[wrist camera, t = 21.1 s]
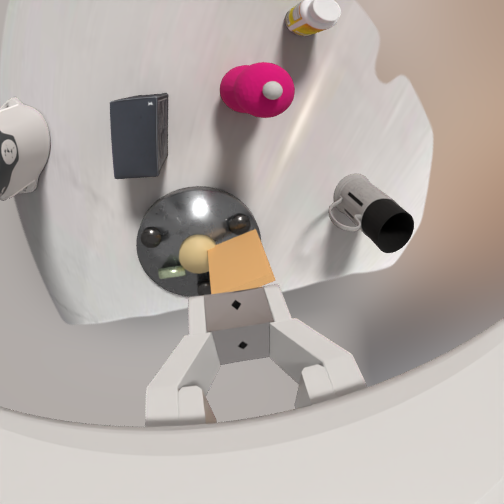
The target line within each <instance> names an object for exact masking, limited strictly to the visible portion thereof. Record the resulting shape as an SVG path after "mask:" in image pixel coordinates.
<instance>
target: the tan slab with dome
mask: <svg viewBox="0 0 504 504" xmlns="http://www.w3.org/2000/svg"><path fill="white" fill-rule="evenodd" d="M179 261H180V263H181V265H182V266H183V268H184V269H186V270H187V271H189V272H192V273H205V272H208V271H209V274H210V285H211V294H217V293H225V292H233V291H239V290H245V289H251V288H257V287H260V286H262V285H265V284H268V283H270V282H273V281H275V277H274V275H273V272H272V269H271V267H270V264H269V262H268V259H267V256H266V254H265V251H264V248H263V246H262V243H261V241H260V238H259V235H258V233H257V231H256V229H254V230H252V231H249V232H247V233H244V234H242V235H239V236H237V237H234V238H232V239H229V240H227V241H225V242H222V243H220V244H216V243H215V241H214V240H213V239H212V238H210V237H208V236H206V235H192V236H190V237H188V238H186V239H185V240H184V241H183V242H182V244H181V246H180V250H179Z"/></svg>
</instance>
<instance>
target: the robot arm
mask: <svg viewBox="0 0 504 504" xmlns="http://www.w3.org/2000/svg"><path fill="white" fill-rule="evenodd" d="M8 106H9V107H8ZM49 150H50V135H49V130H48V126H47V124H46V121H45V119H44V118H43V116H42V115H41V114H40V113H39V112H38V111H37V110H36V109H34V108H32V107H30V106H26V105H24V104H23V103H22V102H21V101H20V100H19V99H18V98H17V97H13V98H10V99H9V100H8V101H7V102H6V103H5V104H4V105H3V106H1V107H0V199H1V200H2V201H4V200H6V199H7V198H12V197H13V196H14V195H16V194H19V193H30V192H33V191H34V190H35V189H36V187H37V183H38V177H39V175H40V173H41V171H42V170H43V168H44V166H45V164H46V162H47V159H48V155H49ZM188 317H189V335H185V336H184V337H183V338H182V340H181V341H180V342H179V344H178V345H177V347H176V348H175V349H174V351H173V352H172V354H171V355H170V356H169V357H168V359H167V360H166V362H165V363H164V364H163V366H162V367H161V369H160V370H159V371H158V373H157V374H156V376H155V377H154V378H153V380H152V381H151V382H150V384H149V385H148V387H147V389H146V417H145V418H146V419H145V421H146V422H145V427H133V426H132V427H131V426H110V425H109V426H108V425H97V424H86V423H78V422H70V421H63V420H57V419H51V418H45V417H40V416H35V415H31V414H27V413H22V412H18V411H14V410H11V409H7V408H3V407H0V504H504V318H502V319H501V320H499V321H498V322H497V323H495V324H493V325H492V326H490V327H489V328H487V329H486V330H484V331H483V332H481V333H480V334H478V335H477V336H475V337H473V338H471V339H470V340H468V341H466V342H465V343H463V344H461V345H459V346H458V347H456V348H454V349H452V350H451V351H448V352H447V353H445V354H443V355H441V356H439V357H437V358H435V359H433V360H431V361H429V362H427V363H425V364H423V365H421V366H418V367H416V368H414V369H412V370H410V371H407V372H405V373H403V374H400V375H398V376H396V377H393V378H391V379H389V380H386V381H383V382H381V383H378V384H376V385H373V386H370V387H367V385H366V383H365V381H364V379H363V377H362V374H361V372H360V370H359V368H358V366H357V364H356V362H355V360H354V358H353V356H352V354H351V353H349V352H347V351H346V350H345V349H343V348H341V347H340V346H338V345H337V344H335V343H334V342H332V341H331V340H329V339H327V338H326V337H324V336H323V335H321V334H320V333H318V332H317V331H315V330H314V329H312V328H311V327H309V326H308V325H306V324H304V323H303V322H301V321H300V320H298V319H297V318H293V319H292V318H291V315H290V313H289V310H288V307H287V305H286V302H285V300H284V297H283V295H282V292H281V289H280V287H279V285H278V284H274V285H268V286H263V287H257V288H251V289H245V290H239V291H233V292H225V293H217V294H209V295H203V296H194V297H189V300H188ZM266 357H270V358H271V359H272V360H273V361H274V362H275V363H276V364H277V365H278V366H279V367H280V368H281V369H282V370H283V371H284V372H286V373H287V374H288V375H289V376H290V377H291V378H292V379H293V380H294V381H295V382H297V383H298V384H299V387H298V391H297V396H296V401H295V409H293V410H289V411H284V412H280V413H275V414H270V415H265V416H259V417H254V418H247V419H241V420H234V421H226V422H218V423H217V421H216V418H215V416H214V414H213V412H212V409H211V407H210V405H209V403H208V401H207V399H206V395H207V393H208V391H209V389H210V387H211V385H212V383H213V381H214V379H215V377H216V375H217V373H218V371H219V368H220V365H223V364H228V363H234V362H240V361H246V360H253V359H259V358H266Z"/></svg>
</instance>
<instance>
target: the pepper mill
mask: <svg viewBox="0 0 504 504" xmlns="http://www.w3.org/2000/svg"><path fill="white" fill-rule="evenodd" d="M294 92H295V88H294V83H293V80H292V78H291V77H290V75H289V74H288V73H287V71H285V70H284V69H283V68H281V67H280V66H278V65H275V64H273V63H265V62H262V63H255V64H252V65H250V66H249V65H243V66H238V67H235V68H233V69H231V70H230V71H229V72H228V73H226V75H225V76H224V77H223V79H222V81H221V84H220V94H221V97H222V100H223V101H224V103H225V104H226V105H227V106H228V107H229V108H231V109H232V110H234V111H237V112H241V113H248V114H251V115H253V116H255V117H261V118H269V117H274V116H277V115H279V114H281V113H283V112H284V111H285V110H286V109H287V108H288V107H289V106H290V104H291V103H292V101H293V98H294Z"/></svg>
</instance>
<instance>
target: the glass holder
mask: <svg viewBox="0 0 504 504" xmlns="http://www.w3.org/2000/svg"><path fill="white" fill-rule="evenodd" d="M335 206H336V208H337V209H338V210H339V211H340V212H342V213H345V214H346V215H347V216H348V217H349V218H350V219H351V220H352V221H353V222H354V223H355V224H356V225H357V226H356V227H350V226H346V225H343V224H341V223H339V222H338V221H337V220H336V219H335V218H334V217H333V215H332V213H331V210H332V208H334V207H335ZM329 217H330V219H331V221H332V222H333V223H334V224H335V225H336V226H337V227H339V228H341V229H343V230H346V231H358V230H359V229H360V230H361V231H362V232H363V233H364V234H365V235H366V236H368V237H369V238H370V239H371V240H372V241H373V242H374V243H375V244H376V245H377V246H378V248H379V249H380V250H381V251H383V252H385V253H393V252H396V251H397V250H399V249H401V248H402V247H403V246H404V245H405V244H406V243H407V242H408V240H409V239H410V237H411V235H412V233H413V229H414V221H413V218H412V216H411V215H410V214H409V213H407V212H406V211H405V210H404V209H403V208H401V207H400V206H399V205H398V204H397V203H396V202H395V201H394V200H393V199H391V198H390V197H389V196H387V195H386V194H385V193H383V192H382V191H381V190H379V189H378V188H377V187H375V186H374V185H372V184H371V183H370V182H369V180H368V179H367V178H366V177H365V176H364V175H361V174H350V175H348V176H346V177H344V178H343V179H342V180H341V181H340V182H339V183H338V185H337V187H336V189H335V192H334V203H333V204H332V205H331V206H330V207H329Z"/></svg>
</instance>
